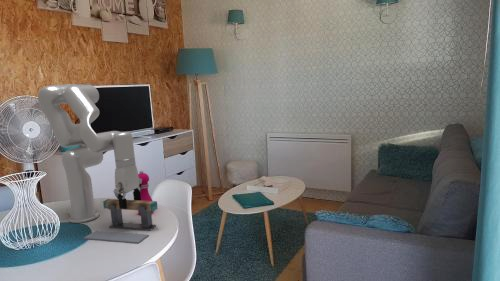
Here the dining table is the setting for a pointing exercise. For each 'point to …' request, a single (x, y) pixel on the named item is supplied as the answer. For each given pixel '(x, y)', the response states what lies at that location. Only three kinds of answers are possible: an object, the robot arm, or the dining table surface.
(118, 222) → the bracket
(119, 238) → the mat
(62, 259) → the dining table surface
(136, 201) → the rail
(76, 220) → the robot arm
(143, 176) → the pepper mill
